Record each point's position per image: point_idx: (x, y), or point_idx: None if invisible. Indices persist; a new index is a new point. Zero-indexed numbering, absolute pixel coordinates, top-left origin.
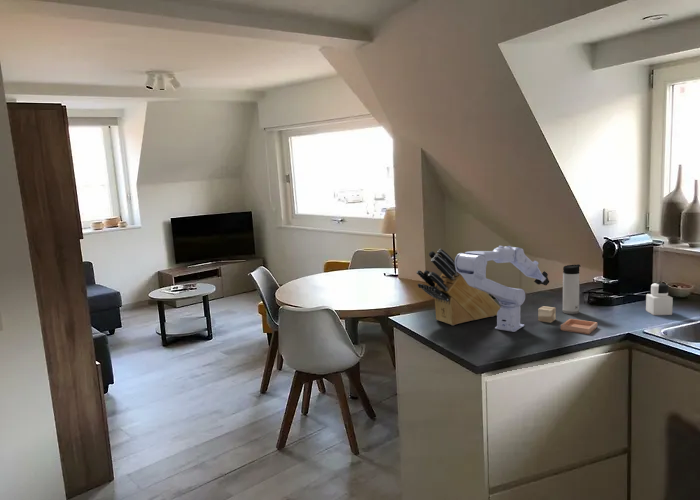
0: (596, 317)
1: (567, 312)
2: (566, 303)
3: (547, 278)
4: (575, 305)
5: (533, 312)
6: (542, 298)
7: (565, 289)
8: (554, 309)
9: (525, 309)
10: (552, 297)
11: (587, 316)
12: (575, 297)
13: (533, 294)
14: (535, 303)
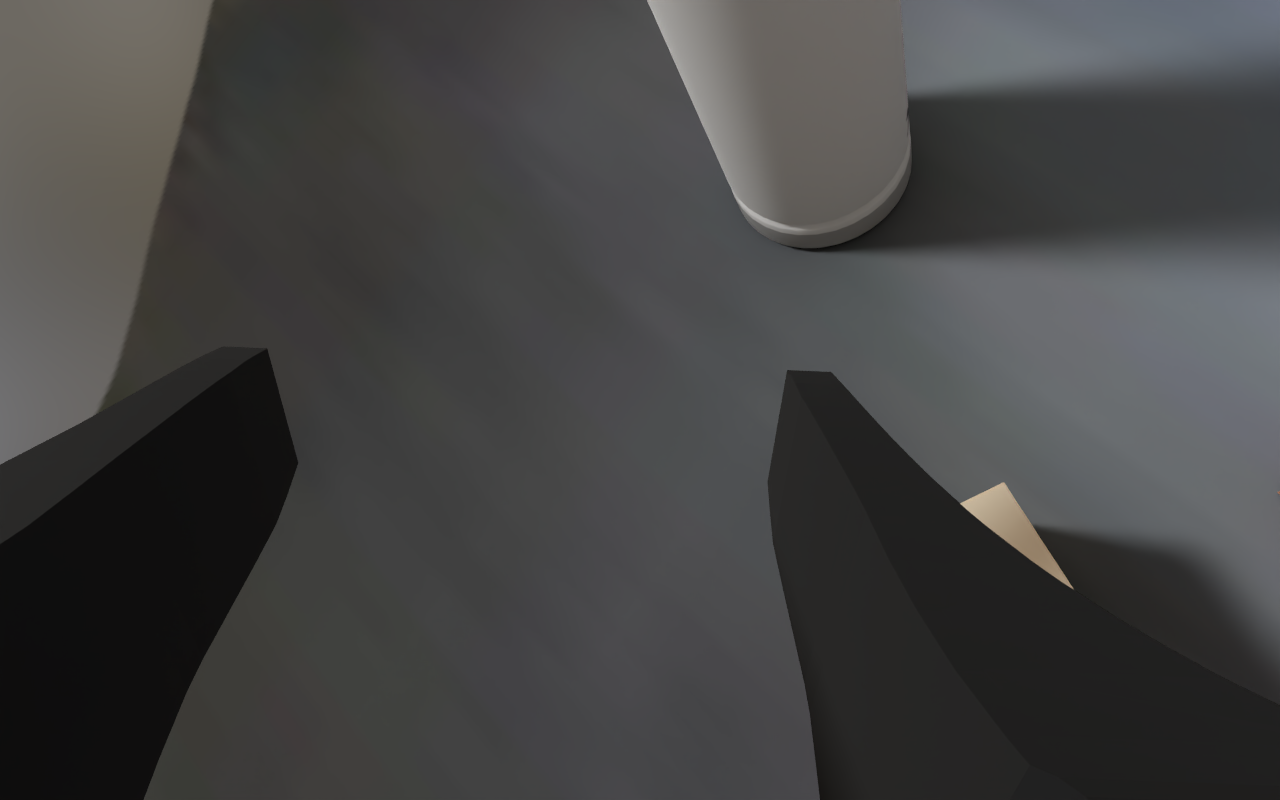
0: (1156, 53)
1: (854, 232)
2: (826, 176)
3: (971, 527)
4: (905, 107)
5: (596, 519)
6: (323, 130)
7: (769, 46)
8: (1033, 532)
9: (462, 508)
10: (357, 45)
11: (1064, 114)
12: (898, 29)
13: (208, 126)
14: (383, 277)
